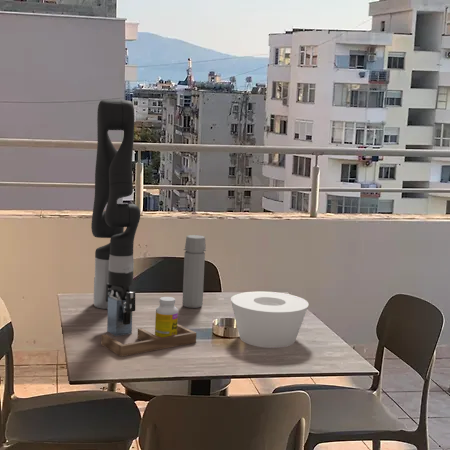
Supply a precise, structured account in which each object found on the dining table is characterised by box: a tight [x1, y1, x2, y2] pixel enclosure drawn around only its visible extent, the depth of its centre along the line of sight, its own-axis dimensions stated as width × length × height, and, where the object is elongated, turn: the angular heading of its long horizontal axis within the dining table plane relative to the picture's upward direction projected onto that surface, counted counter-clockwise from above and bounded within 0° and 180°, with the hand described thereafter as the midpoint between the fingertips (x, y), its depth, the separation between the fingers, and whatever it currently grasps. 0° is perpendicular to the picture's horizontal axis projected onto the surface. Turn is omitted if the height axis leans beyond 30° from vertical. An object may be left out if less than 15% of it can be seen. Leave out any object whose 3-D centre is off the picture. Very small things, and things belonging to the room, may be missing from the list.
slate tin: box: [106, 295, 133, 337], centre depth 223 cm, size 6×6×12 cm
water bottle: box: [182, 234, 207, 309], centre depth 257 cm, size 9×8×25 cm
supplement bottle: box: [154, 296, 179, 338], centre depth 218 cm, size 7×7×13 cm
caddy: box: [100, 323, 197, 357], centre depth 215 cm, size 12×26×3 cm, turn 127°
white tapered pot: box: [230, 291, 310, 349], centre depth 224 cm, size 24×24×12 cm
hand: (119, 320), depth 223 cm, fingers open, 8 cm apart
